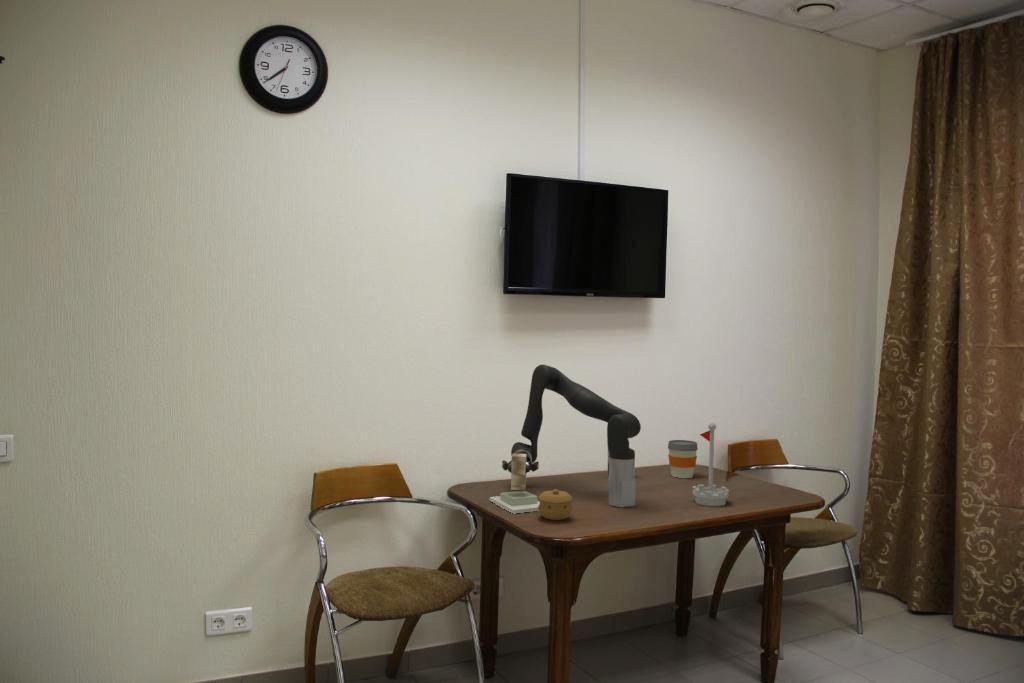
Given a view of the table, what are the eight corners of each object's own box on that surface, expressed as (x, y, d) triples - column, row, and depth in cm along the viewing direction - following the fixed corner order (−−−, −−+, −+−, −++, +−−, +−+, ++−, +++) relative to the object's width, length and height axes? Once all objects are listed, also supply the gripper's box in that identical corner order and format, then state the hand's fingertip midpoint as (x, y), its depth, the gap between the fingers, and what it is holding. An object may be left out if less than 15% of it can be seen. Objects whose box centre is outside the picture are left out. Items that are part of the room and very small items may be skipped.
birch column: (525, 486, 279) (526, 454, 278) (525, 490, 274) (525, 456, 273) (512, 486, 279) (512, 453, 279) (511, 489, 274) (511, 456, 274)
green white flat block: (548, 510, 271) (549, 499, 271) (513, 514, 265) (513, 502, 265) (523, 497, 289) (523, 487, 289) (489, 501, 283) (489, 490, 283)
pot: (574, 523, 256) (575, 493, 255) (539, 523, 255) (540, 493, 254) (569, 513, 267) (570, 485, 267) (535, 514, 266) (536, 485, 266)
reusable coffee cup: (663, 473, 338) (664, 439, 337) (691, 473, 339) (691, 439, 339) (672, 479, 325) (673, 444, 325) (701, 479, 327) (702, 444, 326)
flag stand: (734, 502, 287) (737, 423, 286) (716, 508, 278) (719, 426, 277) (703, 496, 296) (706, 419, 295) (685, 502, 287) (687, 422, 286)
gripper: (503, 450, 291) (498, 459, 274) (540, 451, 290) (538, 460, 273) (502, 469, 292) (498, 479, 275) (540, 471, 291) (538, 481, 274)
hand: (518, 470), depth 274 cm, fingers closed on birch column, 5 cm apart
